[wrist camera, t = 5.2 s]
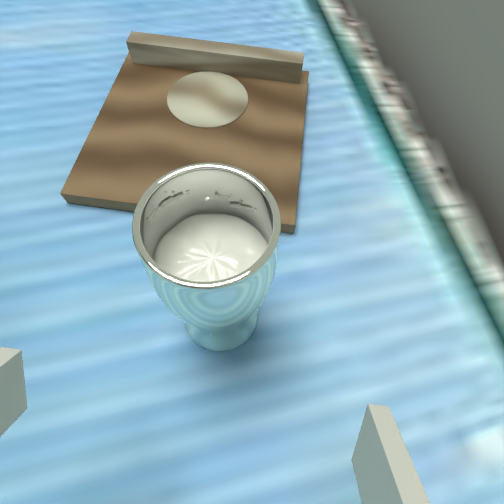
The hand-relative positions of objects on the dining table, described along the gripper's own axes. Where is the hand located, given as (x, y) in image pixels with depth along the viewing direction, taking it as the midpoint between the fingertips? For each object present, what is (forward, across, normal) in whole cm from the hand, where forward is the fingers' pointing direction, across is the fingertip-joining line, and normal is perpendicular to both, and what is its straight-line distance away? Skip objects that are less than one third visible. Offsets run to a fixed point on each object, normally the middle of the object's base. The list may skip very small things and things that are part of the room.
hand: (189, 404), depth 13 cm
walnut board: (+29, -6, +10) cm, 31 cm away
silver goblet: (+15, -1, -4) cm, 16 cm away
